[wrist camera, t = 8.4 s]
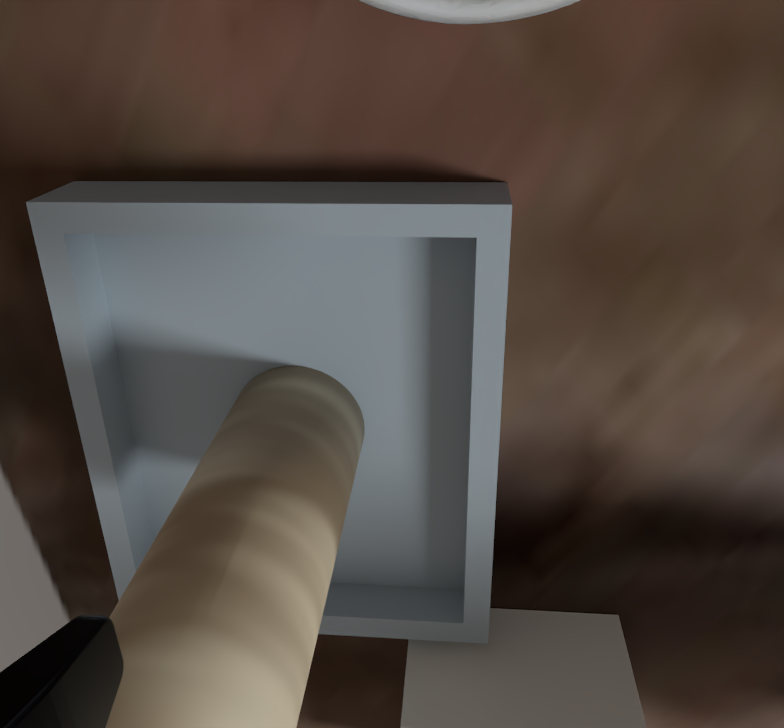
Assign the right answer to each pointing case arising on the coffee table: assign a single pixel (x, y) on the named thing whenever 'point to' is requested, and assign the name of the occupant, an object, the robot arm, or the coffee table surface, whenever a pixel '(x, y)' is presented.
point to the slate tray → (296, 363)
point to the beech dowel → (243, 564)
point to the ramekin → (468, 9)
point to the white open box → (525, 675)
